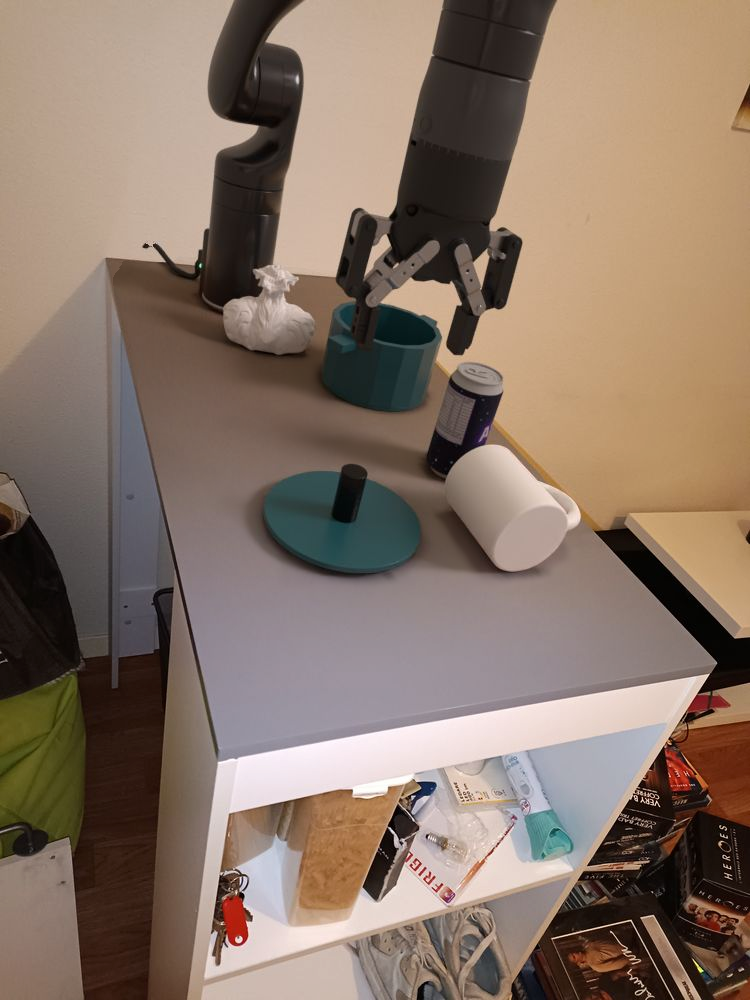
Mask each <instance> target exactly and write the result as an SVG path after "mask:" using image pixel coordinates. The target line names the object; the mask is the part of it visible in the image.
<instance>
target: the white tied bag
mask: <svg viewBox="0 0 750 1000" xmlns="http://www.w3.org/2000/svg"><path fill="white" fill-rule="evenodd" d="M253 273H254V274H255V276H256V277H255V278H256V279H259V278H260V282H259V284H258V286H262V287H263V290H262V293H261V294H260V295H259V297H252V296H246V297H242V298H240V299H232V300H231V301H229V302H228V303H227V304H226V305H225V306H224V307H223V311H224V313H222V314H223V315H222V321H223V327H224V332H225V335H226V337H227V339H228V340H230V341H231V342H233V343H235V344H238V345H241V346H243V347H244V348H246V349H248V350H249V351H259V352H266V353H271V354H275V356H282V355H285V354H299V353H302V352H304V351H305V350H306V349H307V347H308V346H309V344H310V342H311V340H312V338H313V336H314V331H315V328H316V321H315V319H314V318H313V316H312V315H311V313H309V312H308V311H305V310H303V309H302V307H300V306H298V305H297V304H294V303H289V302H287V300H286V297H285V292H288V293H290V292H291V290H290V286H292V287H295V284H296V283H297V282H298V281H299V280H300V279H299V277H298V276H294V274H292V273H291V272H290V271H288V269H287V268H286V267H283V265H279V263H276V264H274V263H273V265H267V266H266V267H264V268H260V269H258V270H257V269H253Z"/></svg>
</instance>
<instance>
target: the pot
mask: <svg viewBox="0 0 750 1000" xmlns="http://www.w3.org/2000/svg"><path fill="white" fill-rule="evenodd" d="M355 303H356V300H354V301H349V302H342V303H340V304H339V305H337V306H336V307H335V308H334V309H333V310H332V313H331V319H330V324H329V330H328V335H327V339H326V346H325V350H324V356H323V361H322V366H321V380H322V383H323V384H324V386H325V387H326V388H327V389H328V390H329V391H330V392H331V393H333V394H334V395H336V396H337V397H338V398H340V399H342V400H345V401H346V402H348V403H351V404H354V405H356V406H359V407H362V408H365V409H371V410H375V411H383V412H405V411H410V410H413V409H415V408H418V407H419V406H420V405H421V404H422V403H423V402H424V400H425V397H426V396H427V394H428V393H427V392H428V389H429V385H430V383H431V379H432V375H433V372H434V368H435V365H436V361H437V359H438V355H439V352H440V348H441V344H442V341H443V335H442V333H441V331H440V328H438V327H437V326H438V323H439V322H438V321H437V320H436V319H434V318H431V317H430V316H429V315H426V314H422V315H419V314H418V313H415V312H413V311H411V310H409V309H406V308H401V307H400V306H396V305H392V304H386V303H381V302H380V303H379V304H378V305H377V306H378V307H379V308H380V314H379V318H378V322H377V327H376V331H375V336H374V340H373V345H372V349H371V350H370V351H361V350H360V348H359V347H358V346H357V345H356V343H355V340H354V339H353V338H352V336H351V332H350V328H351V324H352V319H353V313H354V308H355Z"/></svg>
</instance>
